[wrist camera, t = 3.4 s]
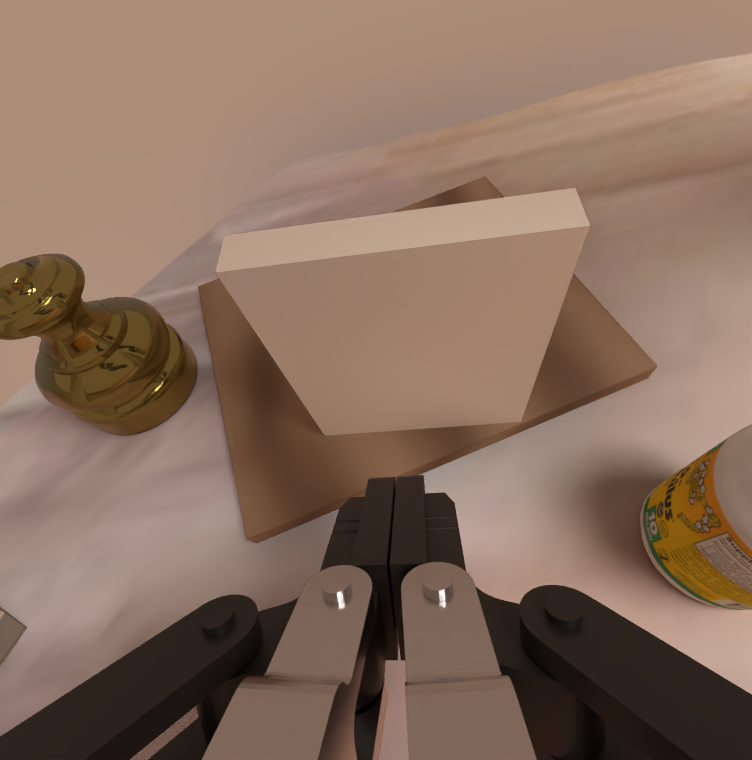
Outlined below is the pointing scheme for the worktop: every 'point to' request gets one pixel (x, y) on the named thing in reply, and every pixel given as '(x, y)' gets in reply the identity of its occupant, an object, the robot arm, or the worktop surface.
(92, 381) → the brass knob
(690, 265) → the worktop surface
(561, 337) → the board
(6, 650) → the skyscraper
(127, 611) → the worktop surface
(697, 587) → the supplement bottle
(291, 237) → the tile
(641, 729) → the robot arm
